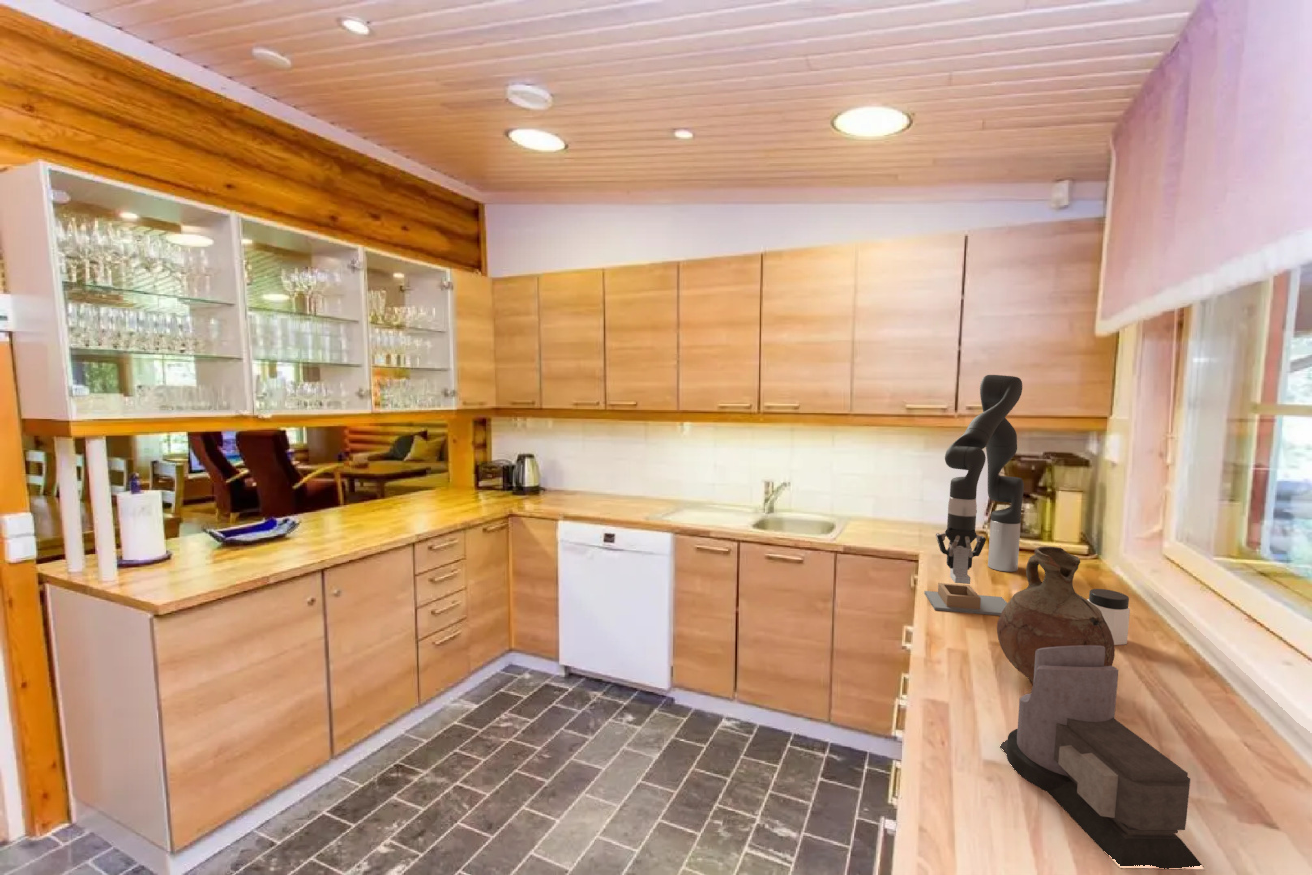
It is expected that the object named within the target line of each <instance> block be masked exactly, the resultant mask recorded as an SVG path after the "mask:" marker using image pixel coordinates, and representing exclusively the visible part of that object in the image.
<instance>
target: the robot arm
mask: <svg viewBox="0 0 1312 875" xmlns="http://www.w3.org/2000/svg"><path fill="white" fill-rule="evenodd" d="M1022 392H1023V381H1022V379H1021V378H1020V377H1018V376H1013V375H1000V374H987V375H985V376H983V377H982V379H981V381H980V386H979V395H980V396H979V397H980V402H981V403H980V404H981V408H982V412H981V413H979V414H978V415H976V416H975V417H974V418H973V419H972V420H971V422H970V423H969V424H968V425H967V428H966V429H965V431H964V433H963V434H961V436H959V437H958V438H957V439H956V440H955V441H954V442H953V443H952V444H951V445H950V446H949V447H948V448H947V449H946V452H945V456H944V460H945V464H946V465H947V467H949V468H950V469H954V470H963V471H967V473H966V475H964V476H955V477H952V478H951V480H950V485H949V486H950V487H949V500H948V507H947V521H946V522H947V525H946V529H945V531H944V532H941V533H939V532H938V533H935V538H936V542H937V543H938V547H939V550H940V552H941V553H942V554H943V555H946V565H947V566H948V568H949V569H950V568H953V553H954V549H956V547H957V546H964V547H966V548H967V550H969V556H968V571H969V570H970V569H971V568H972V567H973V558H974V557H979V556H980V555H981V552H982V551H983V549H984V546H985V544H986V542H987V538H986V537H984V536H983V535H978V534H977V532H976V523H977V512H978V511H977V510H978V509H977V507H978V504H977V493H978V492H977V491H978V490H977V489H978V483H979V479H980V476H981V474H982V471H983V468H984V466H985V464H986V463H987V496H988V498H989V499H990V500H991V501H994V502H1001V503H1008V504H1009V503H1010V506H1008V507H1006V508H1002V509H998V510H993V511H991V513H990V523H989V541H988V554H987V556H988V558H987V567H988V568H990V569H992V570H995V571H1000V572H1009V573H1010V572H1011V573H1012V572H1017V571H1018V569H1019V567H1018V566H1019V555H1020V553H1019V552H1020V541H1021V540H1020V537H1021V522H1022V507H1023V498H1024V490H1025V483H1024V480H1023V478H1022V477H1017V476H1016V477H1015V476H1006V475H999V474H1000V472H1001V471H1002V469H1003V468H1004V467H1005V466H1006V465H1007V464H1008V463H1009V462H1010V461H1011V460H1012V459H1013V458H1014V457H1015V455H1016V453H1017V451H1018V435H1017V434H1018V433H1017V431H1016V429H1015V428H1014V426H1013V424H1011V422H1010V421H1009V420H1008V419H1007V418H1006V417H1007V416H1008V414H1009V413H1010V412H1011V410H1012V409H1013V408H1014V407H1016V405H1017V403H1018V402H1019V400H1020V399H1021V395H1022ZM983 449H986V453H985V451H984V450H983ZM986 459H987V462H986ZM946 538H947V539H948V540H949V543H948V547H947V549H946V546H945V539H946ZM974 540H975V542H976V544H975V546H974V548H972V543H973V541H974Z"/></svg>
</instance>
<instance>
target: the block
mask: <svg viewBox="0 0 1312 875" xmlns="http://www.w3.org/2000/svg"><path fill="white" fill-rule="evenodd" d="M968 556H969V550H967V548H966V547H964V546H957V547H956V549H954V553H953V568H949V569H950V570H949V578H951V580H952V581H953V582H954V584H962V585H970V584H971V576H970V575H969V572H968V571H969V570H968Z"/></svg>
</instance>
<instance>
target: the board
mask: <svg viewBox="0 0 1312 875" xmlns="http://www.w3.org/2000/svg"><path fill="white" fill-rule="evenodd" d="M924 595H925V596H926V599H927V600H928V601H929V603H930V605H931V606H932V608H933V609H934V610H935V611H942V612H953V613H966V614H978V615H989V616H999V617H1000V615H1001V613H1002V611H1003V609H1004V608H1005V606H1006V605H1007V603H1008V602H1007V601H1006V600H1005V599H1004V597H1003V596H996V595H995V596H993V595H992V596H991V595H981V594H978V593H977V592H976V591H975V589H973V587H972V586H971V585H970V584H960V583H944V582H938V586H937V591H931V590H924Z"/></svg>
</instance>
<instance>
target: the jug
mask: <svg viewBox="0 0 1312 875" xmlns="http://www.w3.org/2000/svg"><path fill="white" fill-rule="evenodd" d="M1080 564H1081V559H1080V558H1079V557H1078V556H1076V555H1074V554H1071V553H1069V552H1067V551H1066V550H1065V549H1064V548H1062V547H1057V546H1047V545H1046V546H1045V545H1044V546H1038V547H1036V548H1035V549H1034V554H1033V555H1031V556H1029V558H1028V560H1027V564H1026V567H1025V574H1026V579H1027V580H1026V581H1027V582H1028V585H1027V587H1026V588H1024V589H1022V590H1020V591H1017V592H1016V593H1014V595H1012V597H1011V598H1010V600H1009V601H1008V602H1007V605H1006V606H1005V608H1004V609H1003V611H1002V613H1001V615H1000V616H999V618H998V619H997V624H996V634H997V639H998V643H999V646H1000V648H1001V650H1002V652H1003V654H1004V655H1005V657H1006V659H1007V660H1008V661H1009V663H1011V665H1012V666H1013V667H1014V668H1015V669H1016V670H1017V671H1018V672H1020V674H1022V675H1023V676H1024V677H1026V678H1027V679H1029V681H1030V682H1031V683H1032V684H1033V681H1034V667H1035V653H1036V650H1037V649H1040V648H1046V647H1057V646H1076V645H1097V646H1104V647H1105V659H1104V666H1113V664H1114V659H1115V656H1116V655H1115V654H1116V653H1115V652H1116V651H1115V650H1116V648H1115V645H1114V640H1113V637H1112V634H1111V631H1110V629H1109V627H1108V625H1107V623H1106V622H1105V620H1104V618H1103V616H1102V613H1101V611H1100V610H1099V609H1098V608H1097V607H1096V606H1095V605H1093V604H1092V603H1091V602H1089V601H1088V600H1087V598H1085V597H1083V596H1082V595H1081V594H1078V593H1077V592H1076V590H1075V588H1074V585H1073V584H1074V583H1073V582H1074V581H1073V580H1074V576H1075V574H1076V572H1077V571H1078V570H1079V566H1080ZM1039 566H1040V567H1041V568H1042V569H1043V571H1044V578H1043V580H1041V578H1040V574H1039Z"/></svg>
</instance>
